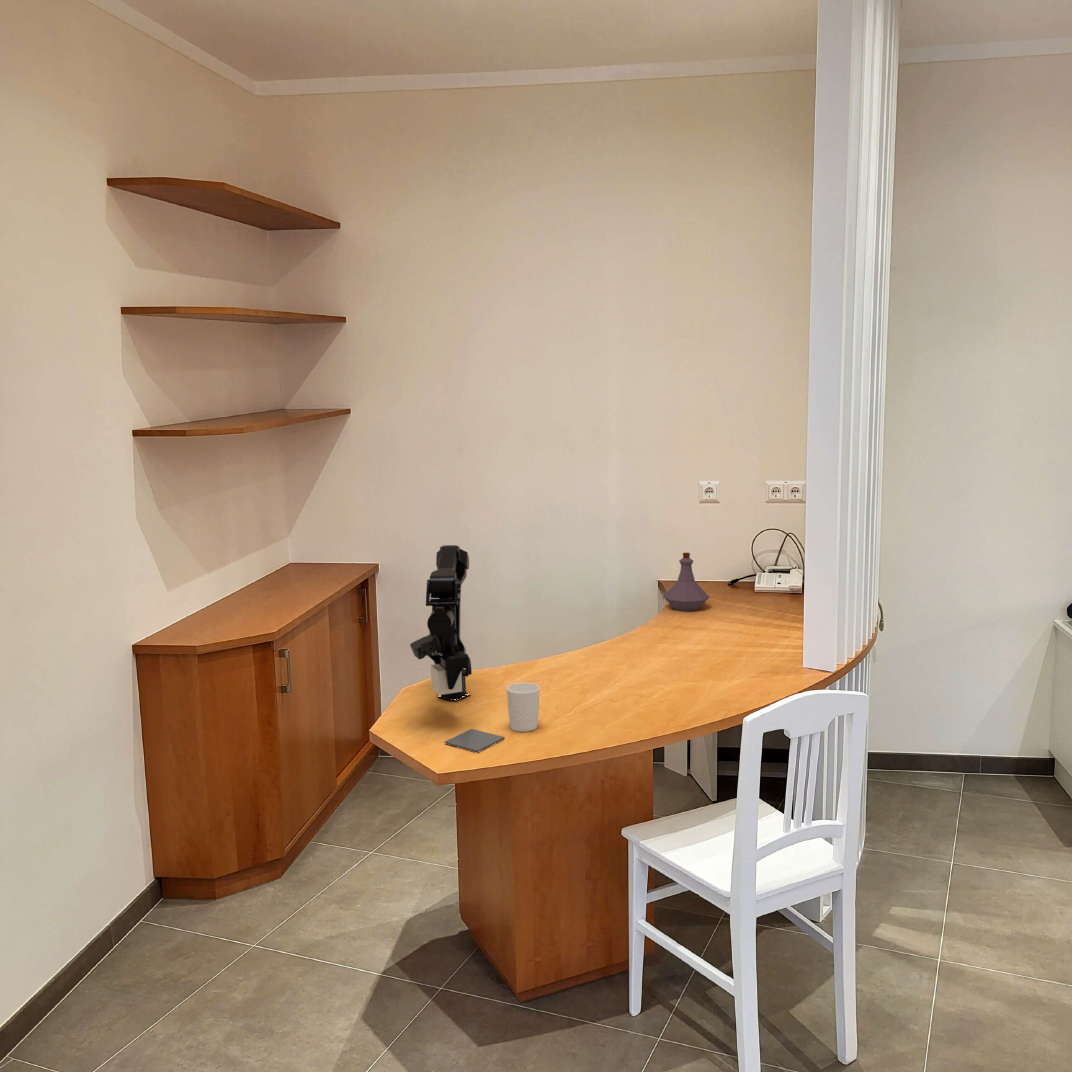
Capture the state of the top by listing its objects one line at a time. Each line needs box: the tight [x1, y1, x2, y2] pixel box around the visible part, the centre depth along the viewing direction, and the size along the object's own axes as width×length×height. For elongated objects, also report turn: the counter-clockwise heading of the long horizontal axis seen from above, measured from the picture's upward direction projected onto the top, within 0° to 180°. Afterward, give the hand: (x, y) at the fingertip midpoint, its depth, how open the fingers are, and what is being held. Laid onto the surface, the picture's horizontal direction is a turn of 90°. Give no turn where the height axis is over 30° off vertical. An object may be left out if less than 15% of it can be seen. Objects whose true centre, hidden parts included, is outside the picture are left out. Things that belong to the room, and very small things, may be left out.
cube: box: [430, 664, 462, 696], centre depth 246 cm, size 6×6×6 cm
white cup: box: [506, 682, 540, 733], centre depth 240 cm, size 8×8×10 cm
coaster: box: [443, 728, 506, 754], centre depth 232 cm, size 10×10×1 cm
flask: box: [662, 552, 710, 612], centre depth 353 cm, size 16×16×20 cm
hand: (446, 685), depth 247 cm, fingers closed on cube, 6 cm apart
